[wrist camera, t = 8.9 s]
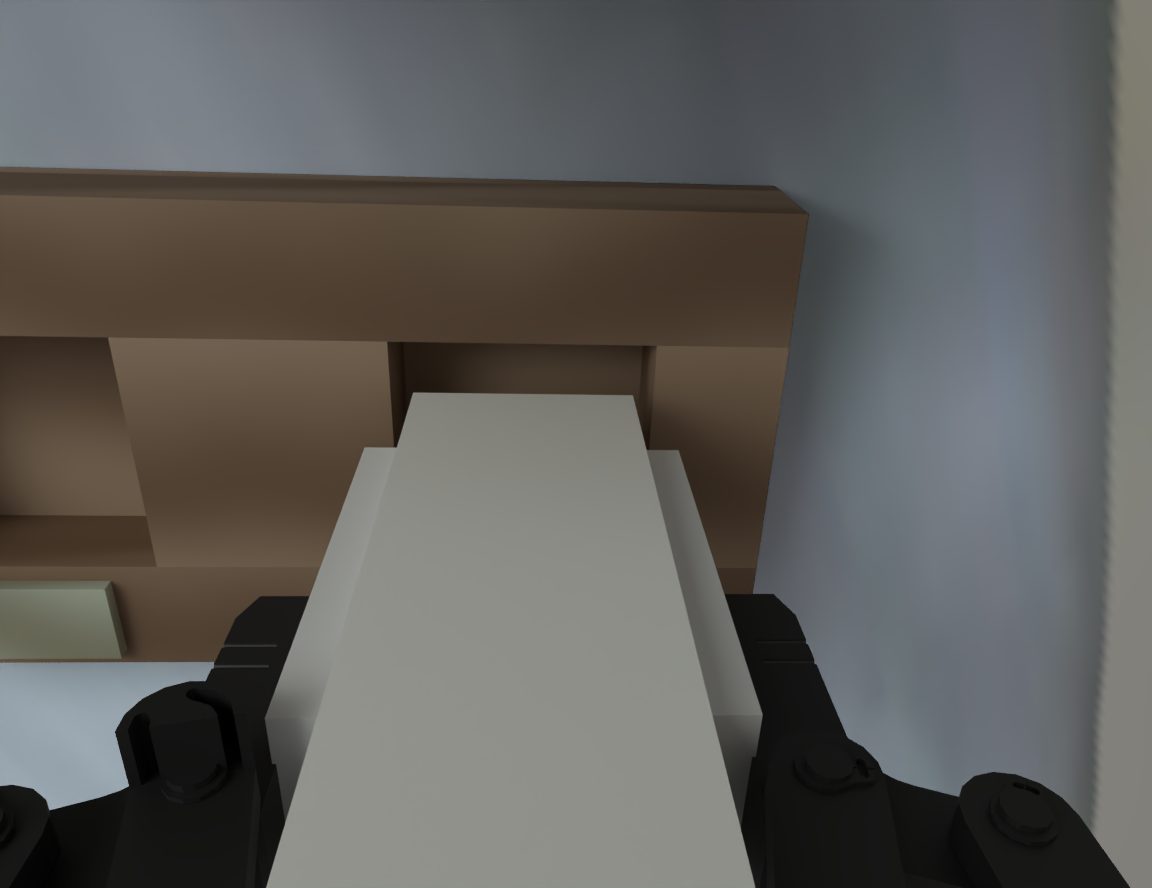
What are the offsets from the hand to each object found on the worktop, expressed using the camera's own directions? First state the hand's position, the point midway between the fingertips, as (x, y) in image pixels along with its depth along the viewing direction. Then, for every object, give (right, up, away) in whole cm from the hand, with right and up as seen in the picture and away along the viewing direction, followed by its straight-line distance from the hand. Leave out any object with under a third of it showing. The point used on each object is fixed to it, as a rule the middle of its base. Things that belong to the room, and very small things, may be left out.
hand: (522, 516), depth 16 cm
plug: (0, 0, +1) cm, 1 cm away
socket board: (-5, +2, +4) cm, 7 cm away
